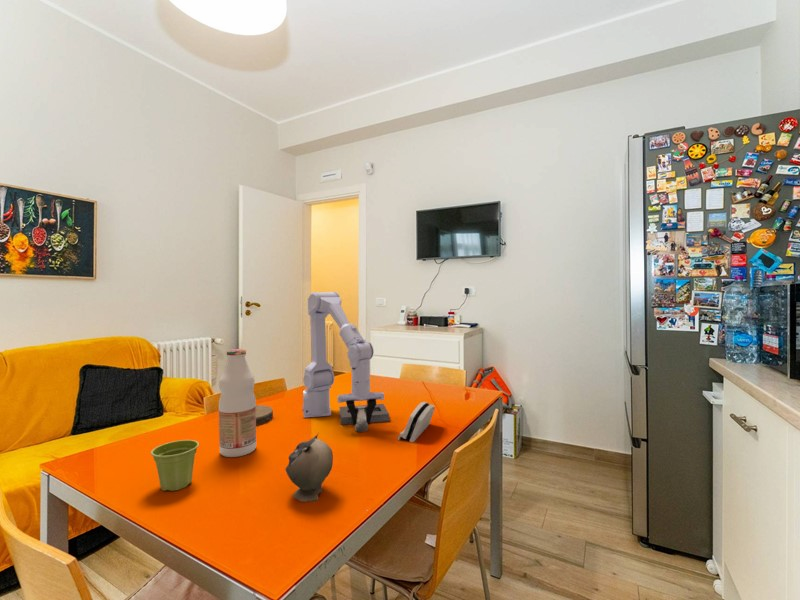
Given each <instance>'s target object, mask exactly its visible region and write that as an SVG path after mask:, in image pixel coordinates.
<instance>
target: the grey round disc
mask: <svg viewBox="0 0 800 600" xmlns="http://www.w3.org/2000/svg"><path fill="white" fill-rule="evenodd" d="M273 410H274V409H273V407H271V406H268V405H263V404H256V427H258V426H261V425H264V424H266V423H269V422H270V421H271V420H273V418H274V412H273Z"/></svg>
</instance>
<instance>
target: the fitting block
mask: <svg viewBox="0 0 800 600" xmlns="http://www.w3.org/2000/svg"><path fill="white" fill-rule="evenodd" d="M356 406H357V405H355V407H356ZM358 406H367V404H361V405H359V404H358ZM338 411H339V419H340V424H341V426H346V425H348V426H349V425H353V421H352V416H351V413H350V411H349V409H348V407H347V405H346V406H339V410H338ZM383 422H385V423H386V422H390V413H389V411H388V409H387V407H386V406H385V404H384V403H376V406H375V408H374V410H373V413H372V416H371V420H370V424H372V423H374V424H375V423H383Z"/></svg>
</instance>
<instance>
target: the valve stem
mask: <svg viewBox="0 0 800 600" xmlns="http://www.w3.org/2000/svg"><path fill="white" fill-rule="evenodd" d="M355 406H356V407H355V425H354V431H356V432H357V433H362V432H363V433H364V432H367V431H368V429H369V426H368V425H369V424H368V407H367V406H359V405H355Z"/></svg>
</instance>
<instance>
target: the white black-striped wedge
mask: <svg viewBox="0 0 800 600" xmlns="http://www.w3.org/2000/svg"><path fill="white" fill-rule="evenodd" d="M435 409H436V407H435V405H433V404H429V402H427V401H422V402H420V403H419V404H418V405H417V406H416V407H415V409H413V411H412V413H411V414H410V416H409V418H408V421H407V423H406V426H405V428H404V430H403V431H401V432H400V433H399V434H398V438H397V441H400V440H401V439H405V440H406V439H408V440H409V442H410V443H415V442H416V440H417V439H418V438H419V437H420V436H421V434H423V432H424V431H425V430H426V429H427V428H428V426H429V425H430V424H431V421H432V417H433V414H434V412H435Z"/></svg>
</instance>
